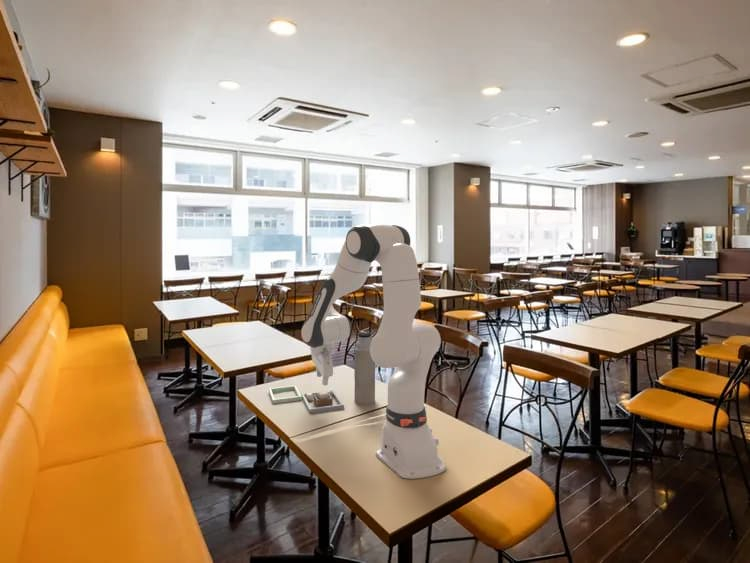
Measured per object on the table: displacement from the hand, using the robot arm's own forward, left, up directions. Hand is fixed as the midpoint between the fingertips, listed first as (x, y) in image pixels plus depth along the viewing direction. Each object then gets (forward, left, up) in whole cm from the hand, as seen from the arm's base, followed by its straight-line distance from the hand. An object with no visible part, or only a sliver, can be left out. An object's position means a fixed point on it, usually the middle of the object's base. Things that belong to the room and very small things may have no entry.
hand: (322, 380), depth 168 cm
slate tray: (+1, 0, -10) cm, 10 cm away
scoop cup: (0, 0, -10) cm, 10 cm away
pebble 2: (+6, -4, -10) cm, 12 cm away
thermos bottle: (-3, -16, -11) cm, 20 cm away
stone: (0, 0, -9) cm, 9 cm away
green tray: (+13, +12, -10) cm, 21 cm away
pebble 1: (+6, +4, -10) cm, 12 cm away
